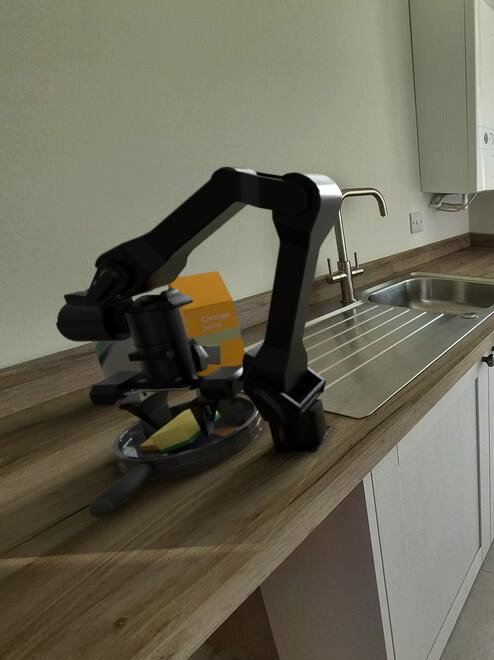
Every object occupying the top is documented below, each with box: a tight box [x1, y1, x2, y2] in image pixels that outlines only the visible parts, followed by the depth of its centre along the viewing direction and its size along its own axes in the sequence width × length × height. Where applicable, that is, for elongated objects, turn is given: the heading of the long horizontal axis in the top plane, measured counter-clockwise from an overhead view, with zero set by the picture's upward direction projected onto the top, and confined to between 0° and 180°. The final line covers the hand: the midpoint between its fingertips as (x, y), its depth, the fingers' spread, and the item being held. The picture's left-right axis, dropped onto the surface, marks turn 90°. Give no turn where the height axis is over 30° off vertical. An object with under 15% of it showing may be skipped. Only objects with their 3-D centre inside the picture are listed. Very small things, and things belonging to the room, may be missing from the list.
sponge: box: [150, 409, 221, 454], centre depth 61 cm, size 7×4×3 cm, turn 4°
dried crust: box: [140, 438, 160, 450], centre depth 61 cm, size 4×4×1 cm
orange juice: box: [167, 270, 246, 376], centre depth 85 cm, size 8×9×20 cm
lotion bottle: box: [84, 287, 142, 379], centre depth 75 cm, size 6×6×20 cm
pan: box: [111, 394, 263, 481], centre depth 61 cm, size 17×17×4 cm
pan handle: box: [88, 464, 153, 518], centre depth 49 cm, size 2×8×2 cm, turn 4°
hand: (191, 435), depth 61 cm, fingers closed on sponge, 5 cm apart
